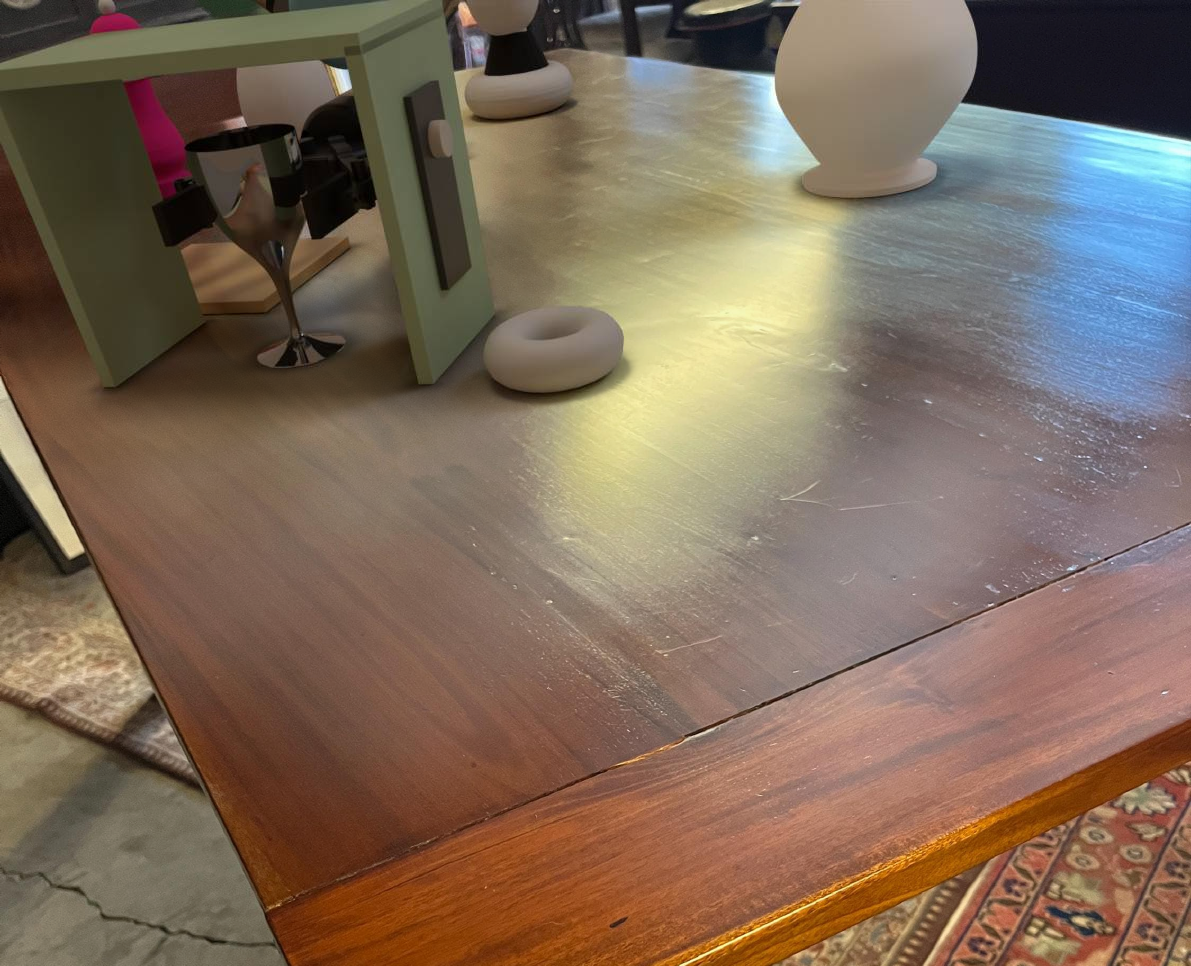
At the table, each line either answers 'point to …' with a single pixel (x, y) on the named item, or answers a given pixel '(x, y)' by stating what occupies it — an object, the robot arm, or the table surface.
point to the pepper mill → (148, 112)
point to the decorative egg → (283, 92)
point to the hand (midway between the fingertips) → (235, 222)
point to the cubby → (129, 190)
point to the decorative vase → (873, 88)
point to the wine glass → (262, 216)
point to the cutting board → (251, 273)
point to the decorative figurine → (514, 65)
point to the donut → (553, 349)
